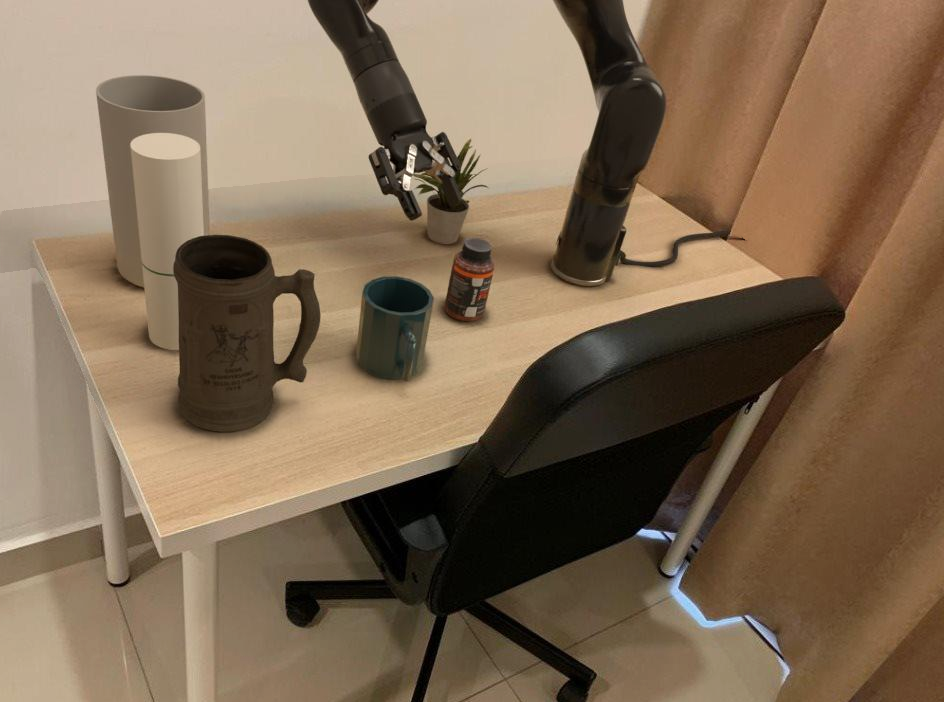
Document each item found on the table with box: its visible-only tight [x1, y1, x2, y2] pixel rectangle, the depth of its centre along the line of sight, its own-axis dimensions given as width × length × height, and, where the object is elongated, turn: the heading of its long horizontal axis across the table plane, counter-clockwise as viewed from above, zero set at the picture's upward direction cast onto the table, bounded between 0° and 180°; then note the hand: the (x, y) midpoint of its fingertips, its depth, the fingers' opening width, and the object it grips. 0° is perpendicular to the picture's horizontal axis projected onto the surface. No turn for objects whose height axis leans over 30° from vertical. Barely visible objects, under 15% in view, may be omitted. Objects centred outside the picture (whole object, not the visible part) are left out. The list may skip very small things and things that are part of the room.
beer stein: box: [173, 234, 322, 432], centre depth 85 cm, size 15×11×20 cm
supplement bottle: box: [444, 237, 496, 322], centre depth 110 cm, size 6×6×11 cm
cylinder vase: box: [95, 74, 211, 288], centre depth 102 cm, size 12×12×25 cm
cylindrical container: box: [130, 133, 204, 351], centre depth 91 cm, size 7×7×25 cm
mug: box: [355, 275, 435, 382], centre depth 97 cm, size 12×9×10 cm
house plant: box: [412, 138, 489, 245], centre depth 127 cm, size 14×14×16 cm
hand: (437, 211), depth 109 cm, fingers open, 8 cm apart
